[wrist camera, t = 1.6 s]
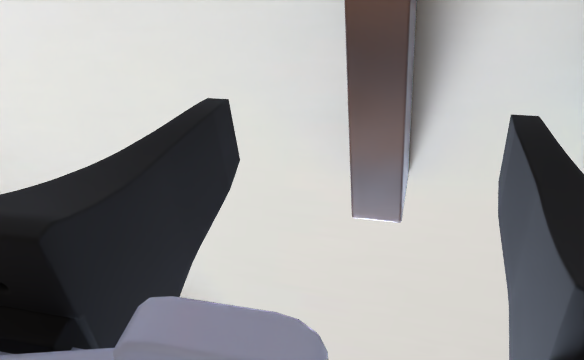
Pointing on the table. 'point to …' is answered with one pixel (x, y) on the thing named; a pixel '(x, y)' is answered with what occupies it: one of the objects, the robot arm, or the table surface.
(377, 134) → the stick
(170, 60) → the table surface
